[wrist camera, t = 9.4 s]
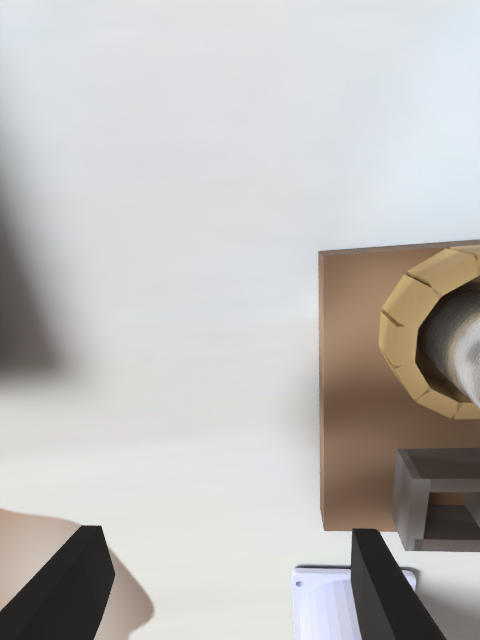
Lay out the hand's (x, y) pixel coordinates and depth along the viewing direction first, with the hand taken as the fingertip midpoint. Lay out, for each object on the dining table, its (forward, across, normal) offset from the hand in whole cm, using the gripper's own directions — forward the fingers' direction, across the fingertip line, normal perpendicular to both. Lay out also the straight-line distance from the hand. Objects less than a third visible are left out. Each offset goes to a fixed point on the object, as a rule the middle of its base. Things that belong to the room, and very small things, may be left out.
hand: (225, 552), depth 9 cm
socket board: (+9, -10, +1) cm, 14 cm away
